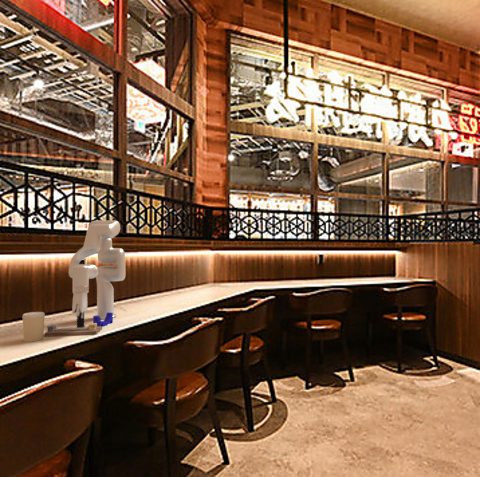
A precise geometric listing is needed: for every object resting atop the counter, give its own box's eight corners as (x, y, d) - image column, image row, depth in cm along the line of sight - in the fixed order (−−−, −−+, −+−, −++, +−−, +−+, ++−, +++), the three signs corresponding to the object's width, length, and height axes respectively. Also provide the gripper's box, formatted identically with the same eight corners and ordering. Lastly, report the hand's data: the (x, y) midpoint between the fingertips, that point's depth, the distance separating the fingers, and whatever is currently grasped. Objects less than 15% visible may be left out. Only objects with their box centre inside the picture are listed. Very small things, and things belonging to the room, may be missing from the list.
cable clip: (99, 327, 198) (99, 316, 198) (93, 327, 199) (93, 316, 199) (114, 323, 209) (114, 312, 209) (108, 322, 210) (108, 312, 210)
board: (53, 330, 190) (53, 323, 190) (102, 329, 193) (102, 321, 193) (44, 336, 178) (44, 328, 178) (96, 334, 181) (96, 326, 181)
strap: (54, 331, 182) (54, 328, 182) (57, 329, 187) (57, 326, 187) (87, 329, 184) (87, 326, 184) (89, 327, 189) (89, 324, 189)
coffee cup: (48, 336, 178) (48, 311, 178) (38, 341, 168) (38, 315, 169) (28, 336, 177) (29, 311, 178) (17, 341, 168) (17, 315, 168)
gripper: (77, 288, 193) (77, 323, 193) (68, 291, 179) (67, 329, 178) (92, 288, 194) (92, 323, 194) (84, 291, 180) (84, 329, 179)
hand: (80, 326), depth 186 cm, fingers closed
